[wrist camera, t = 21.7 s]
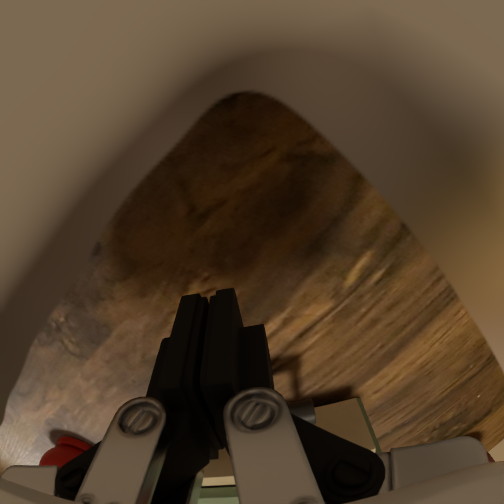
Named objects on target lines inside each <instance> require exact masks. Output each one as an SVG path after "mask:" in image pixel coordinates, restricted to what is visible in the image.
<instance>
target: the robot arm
mask: <svg viewBox="0 0 504 504" xmlns="http://www.w3.org/2000/svg"><path fill="white" fill-rule="evenodd" d="M224 447H225V449H226V451H227V453H228V455H229V456H230V459H231V465H232V470H233V475H234V480H235V485H236V490H237V495H238V500H239V504H504V461H499V462H489V461H488V457H487V452H486V450H485V448H484V446H483V444H482V443H481V442H480V441H479V440H477V439H475V438H472V437H469V436H467V437H457V438H453V439H448V440H443V441H438V442H432V443H427V444H421V445H414V446H407V447H400V448H391V449H390V452H383V453H374V452H373V451H371V450H369V449H367V448H364V447H362V446H360V445H357V444H355V443H353V442H350V441H348V440H346V439H344V438H341V437H339V436H337V435H335V434H333V433H330V432H328V431H326V430H324V429H322V428H320V427H318V426H316V425H314V424H312V423H310V422H308V421H306V420H304V419H302V418H300V417H298V416H296V415H294V414H292V413H290V411H289V409H288V406H287V403H286V401H285V399H284V398H283V396H282V395H281V394H280V393H278V392H277V391H276V390H274V383H273V375H272V367H271V360H270V354H269V348H268V342H267V337H266V332H265V327H264V324H260V325H254V326H248V327H244V326H243V322H242V318H241V314H240V310H239V305H238V301H237V297H236V293H235V290H234V288H229V289H222V290H217V291H216V295H214V296H211V297H210V303H209V302H208V299H207V297H201V295H200V294H199V293H198V294H191V295H185V296H182V297H181V300H180V304H179V307H178V310H177V314H176V318H175V321H174V325H173V328H172V332H171V335H170V337H168V338H164V339H163V340H162V342H161V345H160V349H159V352H158V355H157V359H156V362H155V366H154V369H153V373H152V376H151V380H150V383H149V387H148V391H147V394H146V397H138V398H134V399H131V400H129V401H128V402H126V403H124V404H123V405H122V406H121V407H120V408H119V409H118V410H117V412H116V413H115V415H114V417H113V419H112V421H111V423H110V425H109V427H108V429H107V431H106V433H105V435H104V438H103V440H102V441H100V442H98V443H97V444H95V445H94V446H92V447H91V448H89V449H88V450H86V451H84V452H83V453H81V454H80V455H78V456H77V457H75V458H73V459H72V460H70V461H69V462H67V463H66V464H64V465H63V466H62V467H61V468H60V467H59V466H57V465H47V466H29V465H14V466H10V467H8V468H7V469H6V470H5V471H4V472H3V473H2V476H1V477H0V504H197V502H198V498H199V494H200V490H201V486H202V482H203V477H204V470H203V468H204V467H205V466H207V465H208V464H209V463H210V460H214V459H218V458H219V450H222V449H224Z"/></svg>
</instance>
